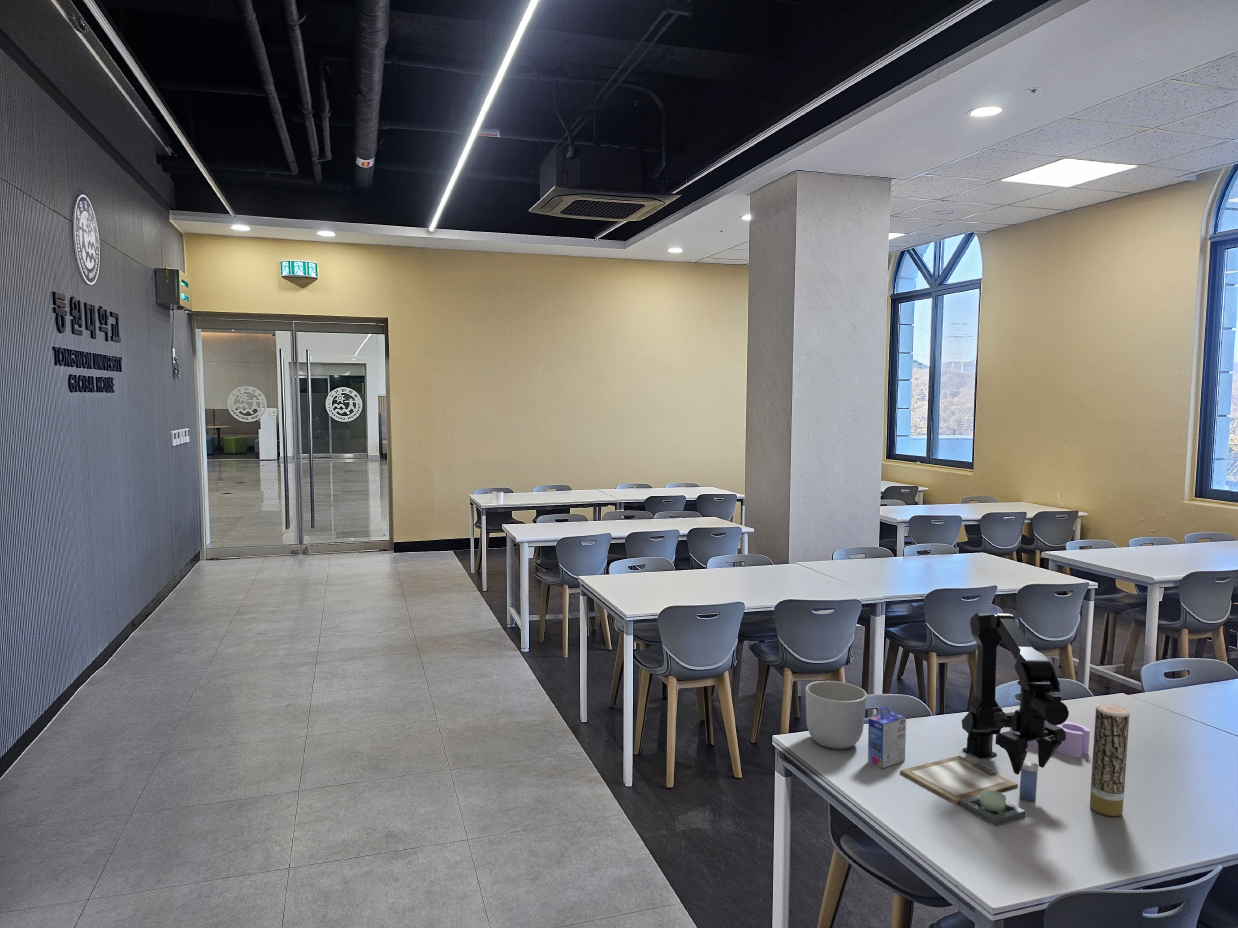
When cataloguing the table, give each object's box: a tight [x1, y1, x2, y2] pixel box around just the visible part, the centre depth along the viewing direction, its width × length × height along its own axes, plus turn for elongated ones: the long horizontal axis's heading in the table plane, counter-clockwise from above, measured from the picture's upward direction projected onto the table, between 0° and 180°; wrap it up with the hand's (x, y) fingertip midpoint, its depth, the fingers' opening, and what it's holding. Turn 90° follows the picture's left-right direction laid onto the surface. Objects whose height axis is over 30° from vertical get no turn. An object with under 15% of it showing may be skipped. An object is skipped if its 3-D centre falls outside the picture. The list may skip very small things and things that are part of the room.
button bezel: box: [959, 795, 1026, 827], centre depth 189 cm, size 10×10×2 cm
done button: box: [979, 790, 1007, 813], centre depth 189 cm, size 6×6×2 cm
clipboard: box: [899, 755, 1019, 805], centre depth 205 cm, size 22×18×1 cm
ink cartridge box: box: [867, 705, 907, 769], centre depth 215 cm, size 10×6×14 cm, turn 124°
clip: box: [1009, 710, 1091, 758], centre depth 230 cm, size 20×12×7 cm, turn 33°
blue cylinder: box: [1019, 760, 1039, 802], centre depth 196 cm, size 4×4×9 cm
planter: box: [805, 680, 868, 750], centre depth 226 cm, size 17×17×15 cm
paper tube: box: [1089, 703, 1130, 817], centre depth 190 cm, size 7×7×25 cm
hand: (1028, 770), depth 196 cm, fingers open, 9 cm apart
